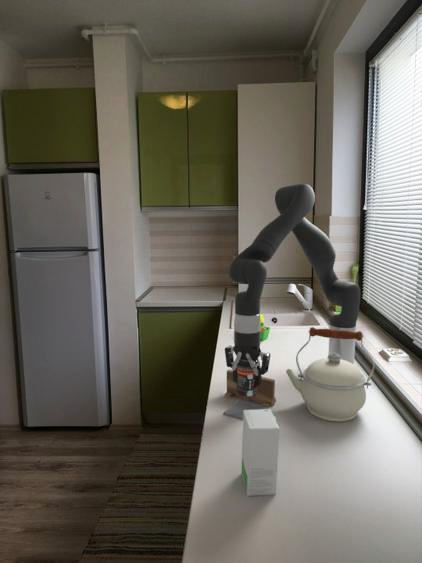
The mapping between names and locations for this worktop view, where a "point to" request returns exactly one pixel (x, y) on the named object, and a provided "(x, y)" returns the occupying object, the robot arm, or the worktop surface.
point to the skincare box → (260, 452)
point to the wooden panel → (263, 390)
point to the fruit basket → (263, 330)
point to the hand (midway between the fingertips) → (246, 383)
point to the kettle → (332, 381)
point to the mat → (241, 405)
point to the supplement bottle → (245, 380)
